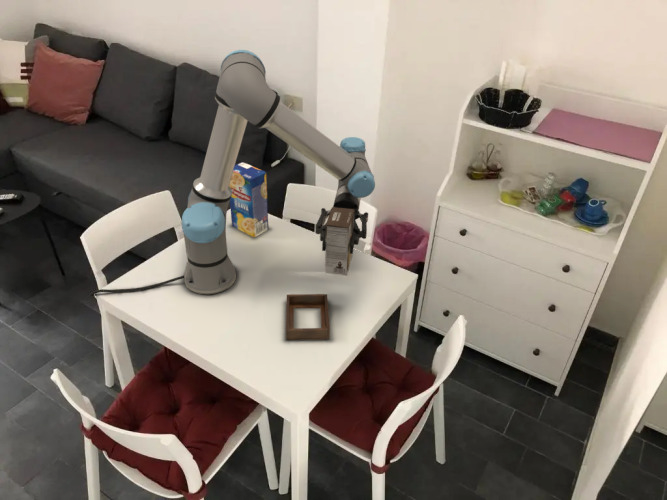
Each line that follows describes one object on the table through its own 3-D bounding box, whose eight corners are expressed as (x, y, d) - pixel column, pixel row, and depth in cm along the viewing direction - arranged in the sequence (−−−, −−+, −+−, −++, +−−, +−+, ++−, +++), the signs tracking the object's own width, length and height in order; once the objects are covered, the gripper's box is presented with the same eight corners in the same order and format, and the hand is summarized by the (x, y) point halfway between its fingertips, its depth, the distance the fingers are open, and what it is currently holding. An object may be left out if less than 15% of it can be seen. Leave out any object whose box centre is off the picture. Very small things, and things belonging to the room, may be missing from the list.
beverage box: (246, 218, 192) (242, 161, 179) (268, 229, 187) (266, 172, 174) (231, 226, 188) (226, 168, 175) (254, 237, 182) (251, 179, 169)
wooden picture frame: (286, 340, 144) (285, 330, 142) (286, 303, 156) (286, 294, 154) (329, 339, 145) (329, 329, 143) (327, 303, 157) (327, 293, 155)
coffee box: (330, 254, 155) (331, 205, 145) (352, 256, 154) (355, 208, 144) (324, 273, 147) (325, 224, 138) (347, 276, 146) (350, 227, 137)
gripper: (379, 217, 161) (373, 263, 142) (314, 211, 163) (300, 255, 144) (381, 195, 156) (376, 239, 138) (314, 189, 158) (300, 232, 140)
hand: (337, 248), depth 141 cm, fingers closed on coffee box, 7 cm apart
